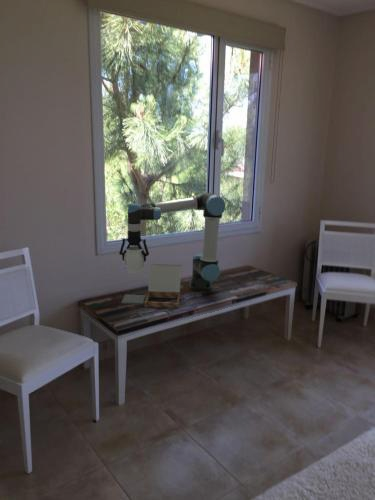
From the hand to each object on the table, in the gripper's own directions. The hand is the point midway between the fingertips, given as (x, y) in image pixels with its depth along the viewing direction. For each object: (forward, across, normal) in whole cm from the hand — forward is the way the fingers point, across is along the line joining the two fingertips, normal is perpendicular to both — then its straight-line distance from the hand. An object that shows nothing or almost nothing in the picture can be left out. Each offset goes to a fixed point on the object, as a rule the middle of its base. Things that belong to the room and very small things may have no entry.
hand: (134, 266), depth 251 cm
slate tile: (+22, 0, 0) cm, 22 cm away
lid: (+10, -18, -10) cm, 23 cm away
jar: (+4, 0, 0) cm, 4 cm away
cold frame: (+22, -18, +1) cm, 28 cm away
